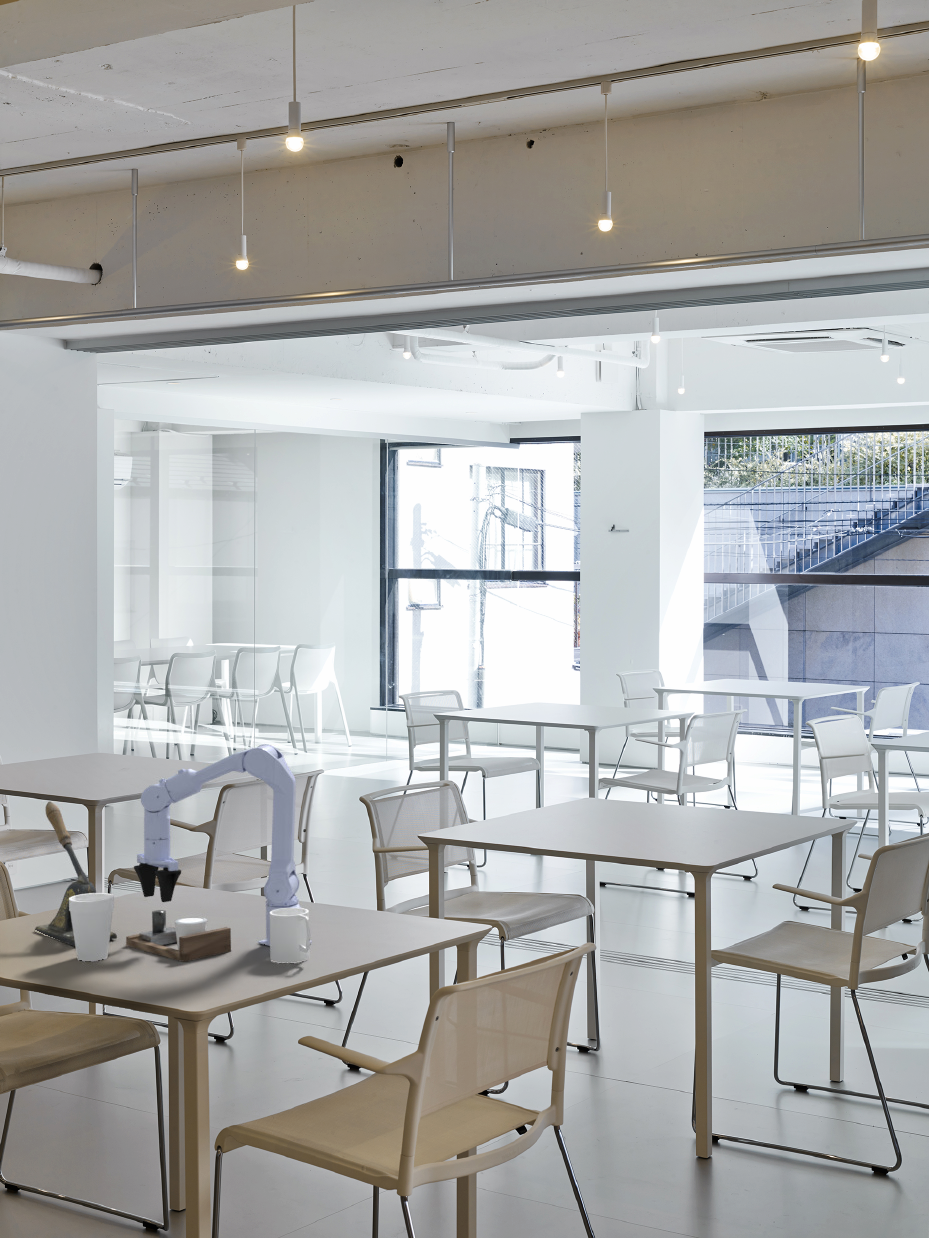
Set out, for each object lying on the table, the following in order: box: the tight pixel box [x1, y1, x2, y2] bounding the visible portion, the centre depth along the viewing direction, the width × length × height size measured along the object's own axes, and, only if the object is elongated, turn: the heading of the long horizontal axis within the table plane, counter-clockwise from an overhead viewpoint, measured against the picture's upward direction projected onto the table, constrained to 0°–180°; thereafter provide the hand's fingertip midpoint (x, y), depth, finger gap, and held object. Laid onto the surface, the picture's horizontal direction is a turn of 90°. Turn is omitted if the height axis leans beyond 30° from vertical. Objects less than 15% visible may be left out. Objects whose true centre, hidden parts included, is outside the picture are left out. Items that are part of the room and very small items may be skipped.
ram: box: [138, 909, 177, 946], centre depth 313 cm, size 4×8×7 cm, turn 136°
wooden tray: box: [125, 926, 232, 963], centre depth 308 cm, size 22×12×5 cm, turn 46°
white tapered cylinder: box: [174, 916, 208, 950], centre depth 305 cm, size 7×7×7 cm
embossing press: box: [34, 801, 118, 947], centre depth 322 cm, size 11×24×30 cm, turn 38°
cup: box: [269, 907, 311, 963], centre depth 296 cm, size 8×12×10 cm
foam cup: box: [69, 892, 115, 962], centre depth 301 cm, size 10×9×13 cm
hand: (157, 898), depth 313 cm, fingers open, 7 cm apart
